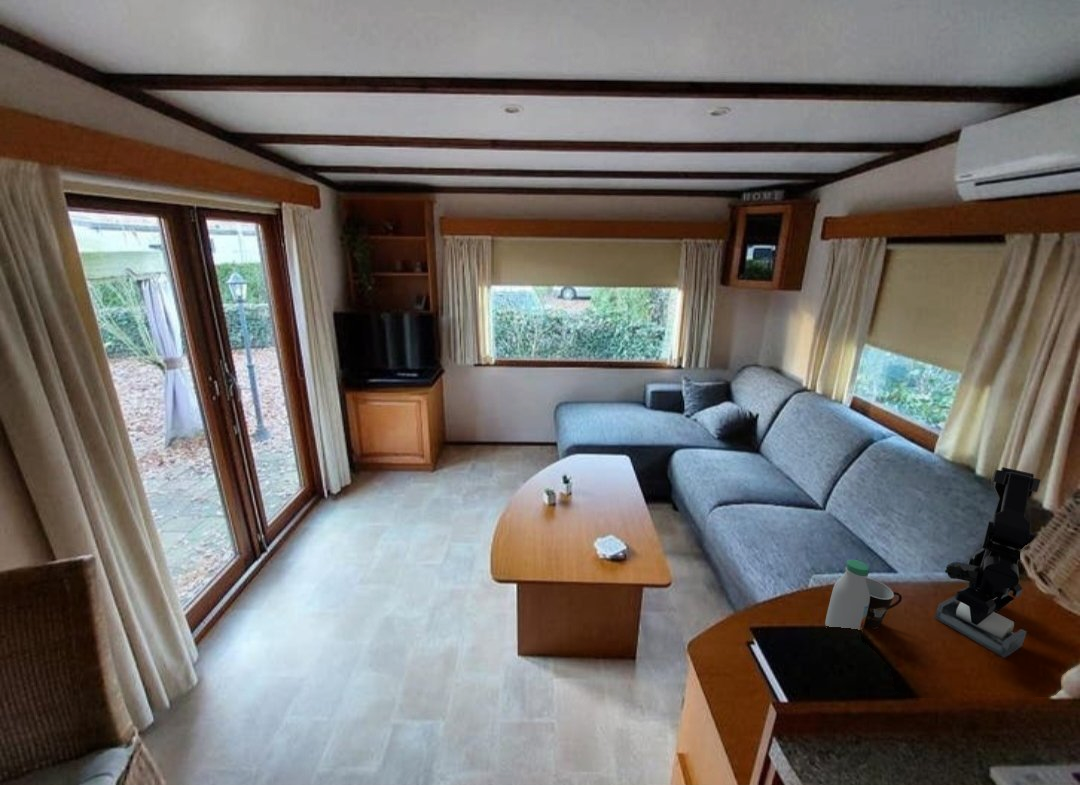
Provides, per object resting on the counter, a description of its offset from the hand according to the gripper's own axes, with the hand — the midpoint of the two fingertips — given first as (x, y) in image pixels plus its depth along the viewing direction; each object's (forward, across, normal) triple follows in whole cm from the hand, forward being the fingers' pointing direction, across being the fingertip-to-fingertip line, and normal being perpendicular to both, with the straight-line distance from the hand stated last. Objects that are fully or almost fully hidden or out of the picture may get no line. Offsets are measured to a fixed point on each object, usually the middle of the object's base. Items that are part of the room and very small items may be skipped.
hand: (980, 620), depth 112 cm
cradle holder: (+4, 0, 0) cm, 4 cm away
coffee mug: (+4, +22, -13) cm, 26 cm away
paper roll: (+2, 0, +1) cm, 2 cm away
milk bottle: (+4, +33, -14) cm, 36 cm away
